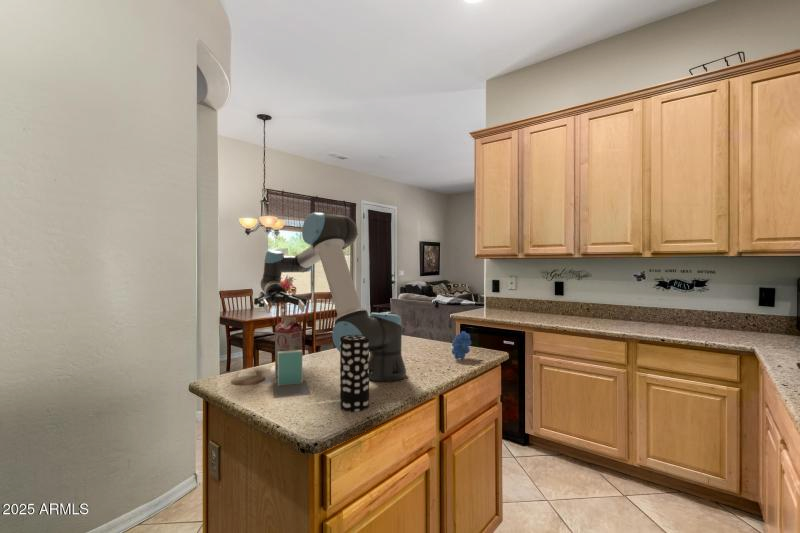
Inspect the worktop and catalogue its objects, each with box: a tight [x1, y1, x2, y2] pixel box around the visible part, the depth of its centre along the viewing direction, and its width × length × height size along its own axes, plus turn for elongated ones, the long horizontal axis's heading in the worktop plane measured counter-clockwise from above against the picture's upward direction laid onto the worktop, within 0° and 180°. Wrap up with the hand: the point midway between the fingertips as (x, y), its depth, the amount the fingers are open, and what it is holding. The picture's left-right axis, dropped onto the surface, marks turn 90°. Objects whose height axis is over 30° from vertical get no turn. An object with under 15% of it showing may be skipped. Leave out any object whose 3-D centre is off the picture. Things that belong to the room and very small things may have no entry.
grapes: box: [451, 330, 472, 360], centre depth 168 cm, size 12×7×12 cm, turn 128°
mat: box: [272, 379, 311, 399], centre depth 125 cm, size 15×11×1 cm
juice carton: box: [274, 316, 303, 379], centre depth 139 cm, size 7×7×22 cm
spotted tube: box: [339, 335, 370, 413], centre depth 111 cm, size 8×8×20 cm
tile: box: [277, 349, 303, 386], centre depth 130 cm, size 2×8×11 cm, turn 109°
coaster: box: [230, 374, 266, 386], centre depth 134 cm, size 11×11×1 cm
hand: (285, 308), depth 144 cm, fingers open, 13 cm apart
